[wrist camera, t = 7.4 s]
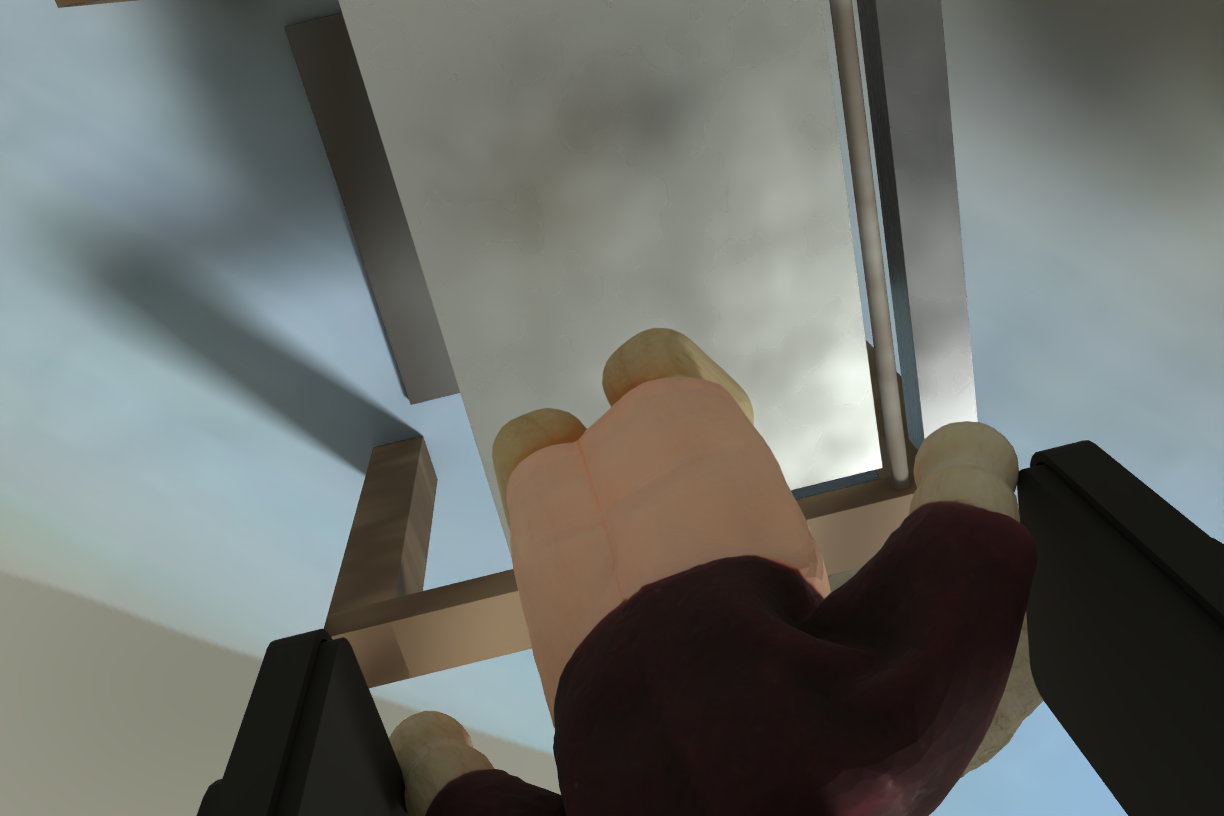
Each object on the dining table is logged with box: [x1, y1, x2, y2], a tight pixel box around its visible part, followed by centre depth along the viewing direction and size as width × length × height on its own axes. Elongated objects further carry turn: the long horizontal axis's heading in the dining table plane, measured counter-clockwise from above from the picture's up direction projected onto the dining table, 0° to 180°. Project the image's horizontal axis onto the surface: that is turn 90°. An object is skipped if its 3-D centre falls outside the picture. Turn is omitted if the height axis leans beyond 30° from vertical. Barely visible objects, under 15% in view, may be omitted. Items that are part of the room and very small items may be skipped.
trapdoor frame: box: [55, 0, 918, 688], centre depth 31 cm, size 20×21×13 cm
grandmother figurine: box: [389, 328, 1038, 816], centre depth 11 cm, size 8×4×13 cm, turn 133°
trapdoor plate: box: [338, 0, 978, 557], centre depth 26 cm, size 13×15×1 cm
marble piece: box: [828, 567, 1044, 778], centre depth 45 cm, size 17×15×4 cm
